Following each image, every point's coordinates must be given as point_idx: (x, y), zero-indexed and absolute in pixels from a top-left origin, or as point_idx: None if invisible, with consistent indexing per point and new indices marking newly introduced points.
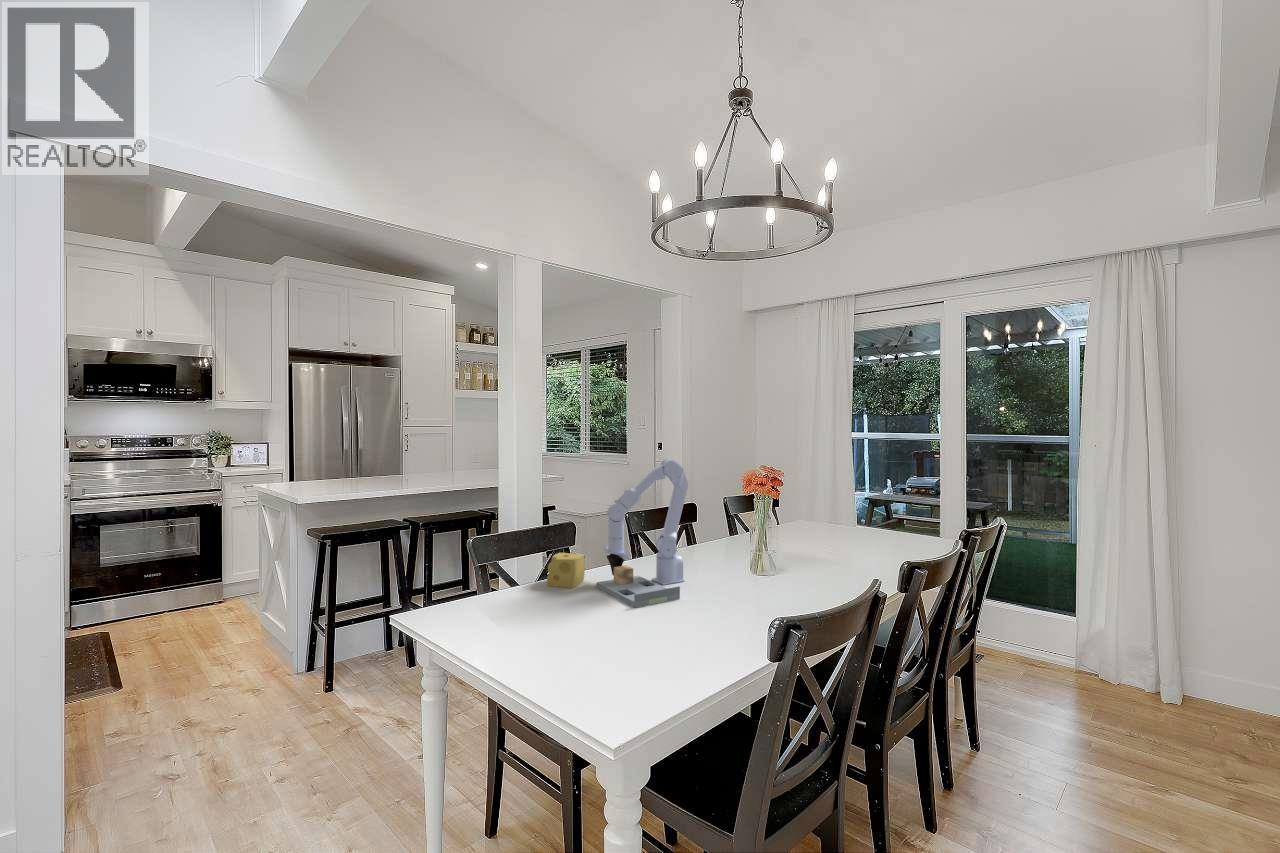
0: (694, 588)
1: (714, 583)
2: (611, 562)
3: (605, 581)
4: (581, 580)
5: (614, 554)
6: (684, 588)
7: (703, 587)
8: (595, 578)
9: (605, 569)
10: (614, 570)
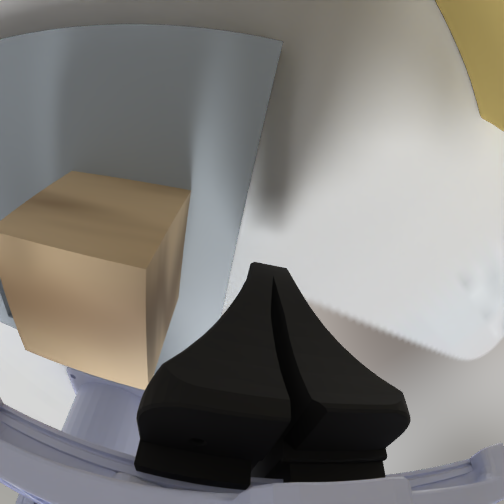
0: (14, 377)
1: (49, 425)
2: (273, 349)
3: (240, 126)
4: (473, 67)
5: (282, 482)
6: (18, 365)
7: (20, 393)
8: (453, 219)
9: (475, 358)
10: (140, 241)
